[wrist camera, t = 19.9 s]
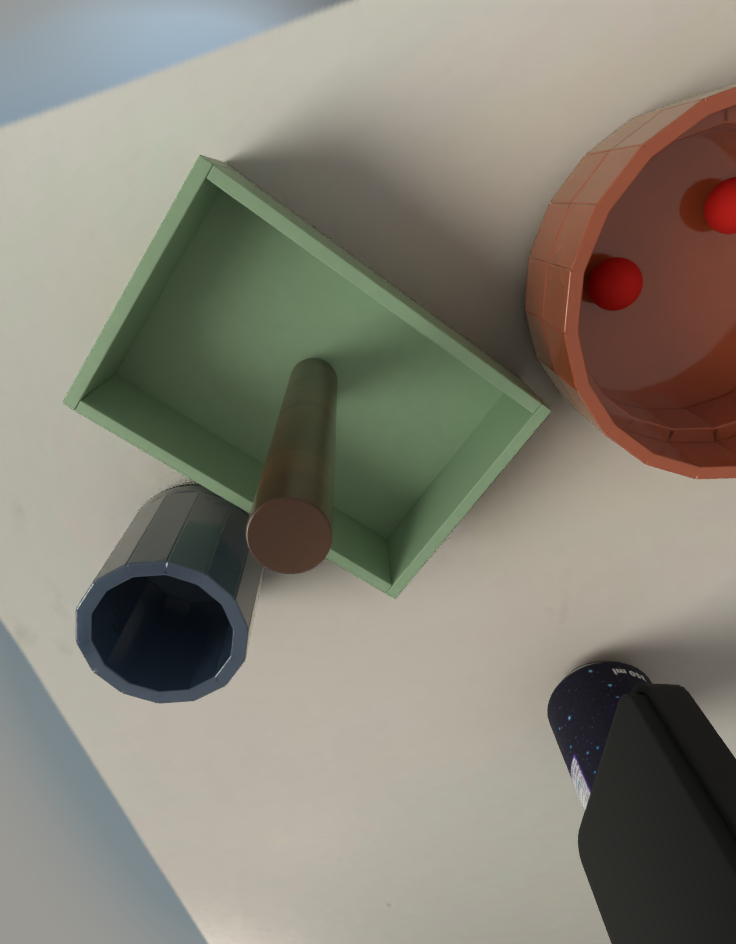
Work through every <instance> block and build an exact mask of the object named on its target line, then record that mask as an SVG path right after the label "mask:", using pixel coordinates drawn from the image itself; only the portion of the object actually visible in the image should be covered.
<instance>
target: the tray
mask: <svg viewBox="0 0 736 944" xmlns="http://www.w3.org/2000/svg"><path fill="white" fill-rule="evenodd" d="M308 358H318V359H322V360H324V361H326V362H327V363H329V364H330V365H331V366H332V368H333V369H334V371H335V373H336V376H337V410H336V444H335V478H334V513H333V540H332V545H331V549H330V551H329V553H328V554H327V556H326V557H325V558H326V559H328V560H330V561H331V562H333V563H335V564H336V565H338V566H340V567H342V568H343V569H345V570H347V571H348V572H350V573H352V574H353V575H355V576H357V577H359V578H360V579H362V580H364V581H365V582H367V583H369V584H370V585H372V586H374V587H376V588H377V589H379V590H381V591H382V592H384V593H386V594H387V595H389V596H391V597H393V598H394V599H395V598H396V597H397V596H398V595H399V594H400V593H401V591H402V590H403V589H404V588H405V587H406V585H407V584H408V583H409V582H410V581H411V579H412V578H413V577H414V576H415V575H416V573H417V572H418V571H419V570H420V569H421V567H422V566H423V565H424V564H425V563H426V561H427V560H428V559H429V558H430V557H431V555H432V554H433V553H434V552H435V551H436V549H437V548H438V547H439V546H440V545H441V543H442V542H443V541H444V540H445V539H446V537H447V536H448V535H449V534H450V533H451V531H452V530H453V529H454V528H455V527H456V525H457V524H458V523H459V522H460V521H461V519H462V518H463V517H464V516H465V515H466V513H467V512H468V511H469V510H470V509H471V507H472V506H473V505H474V504H475V503H476V501H477V500H478V499H479V498H480V497H481V495H482V494H483V493H484V492H485V491H486V489H487V488H488V487H489V486H490V485H491V483H492V482H493V481H494V480H495V479H496V477H497V476H498V475H499V474H500V473H501V471H502V470H503V469H504V468H505V467H506V465H507V464H508V463H509V462H510V461H511V459H512V458H513V457H514V456H515V455H516V453H517V452H518V451H519V450H520V449H521V447H522V446H523V445H524V444H525V443H526V441H527V440H528V439H529V438H530V437H531V435H532V434H533V433H534V432H535V430H536V429H537V428H538V427H539V426H540V424H541V423H542V422H543V421H544V420H545V418H546V417H547V416H548V415H549V414H550V412H551V409H550V408H549V407H548V406H547V405H546V404H545V403H544V402H543V401H542V400H541V399H540V398H539V397H538V396H537V395H536V394H535V393H534V392H533V391H532V390H531V389H530V388H529V387H528V386H527V385H526V384H525V383H524V382H523V381H522V380H521V379H520V378H518V377H517V376H516V375H514V374H513V373H512V372H510V371H509V370H508V369H506V368H505V367H503V366H502V365H501V364H499V363H498V362H497V361H495V360H494V359H492V358H491V357H490V356H488V355H487V354H486V353H484V352H483V351H482V350H480V349H479V348H477V347H476V346H475V345H473V344H472V343H471V342H469V341H468V340H467V339H465V338H464V337H462V336H461V335H460V334H458V333H457V332H456V331H454V330H453V329H452V328H450V327H449V326H447V325H446V324H445V323H443V322H442V321H441V320H439V319H438V318H437V317H435V316H434V315H432V314H431V313H430V312H428V311H427V310H426V309H424V308H423V307H421V306H420V305H419V304H417V303H416V302H415V301H413V300H412V299H411V298H409V297H408V296H406V295H405V294H404V293H402V292H401V291H400V290H398V289H397V288H396V287H394V286H393V285H391V284H390V283H389V282H387V281H386V280H385V279H383V278H382V277H381V276H379V275H378V274H376V273H375V272H374V271H372V270H371V269H370V268H368V267H367V266H365V265H364V264H363V263H361V262H360V261H359V260H357V259H356V258H355V257H353V256H352V255H350V254H349V253H348V252H346V251H345V250H344V249H342V248H341V247H340V246H338V245H337V244H335V243H334V242H333V241H331V240H330V239H329V238H327V237H326V236H325V235H323V234H322V233H320V232H319V231H318V230H316V229H315V228H314V227H312V226H311V225H310V224H308V223H307V222H305V221H304V220H303V219H301V218H300V217H299V216H297V215H296V214H294V213H293V212H292V211H290V210H289V209H288V208H286V207H285V206H284V205H282V204H281V203H279V202H278V201H277V200H275V199H274V198H273V197H271V196H270V195H269V194H267V193H266V192H264V191H263V190H262V189H260V188H259V187H258V186H256V185H255V184H254V183H252V182H251V181H249V180H248V179H247V178H245V177H244V176H243V175H241V174H240V173H239V172H237V171H236V170H234V169H233V168H232V167H230V166H229V165H228V164H226V163H225V162H222V161H219V160H215V159H212V158H209V157H205V156H202V155H200V156H199V157H198V159H197V161H196V163H195V164H194V166H193V168H192V170H191V172H190V173H189V175H188V177H187V179H186V181H185V182H184V184H183V186H182V188H181V190H180V191H179V193H178V195H177V197H176V199H175V200H174V202H173V204H172V206H171V208H170V209H169V211H168V213H167V215H166V217H165V219H164V220H163V222H162V224H161V226H160V228H159V229H158V231H157V233H156V235H155V237H154V238H153V240H152V242H151V244H150V246H149V247H148V249H147V251H146V253H145V255H144V256H143V258H142V260H141V262H140V264H139V265H138V267H137V269H136V271H135V273H134V274H133V276H132V278H131V280H130V282H129V283H128V285H127V287H126V289H125V291H124V292H123V294H122V296H121V298H120V300H119V301H118V303H117V305H116V307H115V309H114V310H113V312H112V314H111V316H110V318H109V319H108V321H107V323H106V325H105V327H104V328H103V330H102V332H101V334H100V336H99V337H98V339H97V341H96V343H95V345H94V346H93V348H92V350H91V352H90V354H89V355H88V357H87V359H86V361H85V363H84V364H83V366H82V368H81V370H80V372H79V373H78V375H77V377H76V379H75V381H74V382H73V384H72V386H71V388H70V390H69V392H68V393H67V395H66V397H65V399H64V401H63V404H64V405H66V406H68V407H69V408H71V409H73V410H75V411H76V412H78V413H79V414H81V415H83V416H85V417H86V418H88V419H90V420H91V421H93V422H95V423H96V424H98V425H100V426H102V427H103V428H105V429H107V430H108V431H110V432H112V433H114V434H115V435H117V436H119V437H120V438H122V439H124V440H125V441H127V442H129V443H131V444H132V445H134V446H136V447H137V448H139V449H141V450H142V451H144V452H146V453H148V454H149V455H151V456H153V457H154V458H156V459H158V460H159V461H161V462H163V463H165V464H166V465H168V466H170V467H171V468H173V469H175V470H176V471H178V472H180V473H182V474H183V475H185V476H187V477H188V478H190V479H192V480H193V481H195V482H197V483H199V484H200V485H202V486H204V487H205V488H207V489H209V490H210V491H212V492H214V493H216V494H217V495H219V496H221V497H222V498H224V499H226V500H228V501H229V502H231V503H233V504H234V505H236V506H238V507H239V508H241V509H243V510H245V511H246V512H248V513H250V512H251V509H252V505H253V502H254V498H255V495H256V492H257V488H258V485H259V481H260V478H261V474H262V471H263V468H264V464H265V461H266V457H267V454H268V451H269V447H270V444H271V440H272V437H273V434H274V430H275V427H276V423H277V420H278V416H279V413H280V410H281V406H282V403H283V399H284V396H285V393H286V389H287V386H288V382H289V379H290V376H291V372H292V370H293V368H294V367H295V366H296V365H297V364H298V363H299V362H301V361H302V360H305V359H308Z"/></svg>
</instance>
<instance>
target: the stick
mask: <svg viewBox="0 0 736 944" xmlns="http://www.w3.org/2000/svg"><path fill="white" fill-rule="evenodd" d="M336 410H337V376H336V373H335V371H334V369H333V368H332V366H331V365H330V364H329V363H327V362H326V361H324V360H322V359H318V358H308V359H305V360H302V361H301V362H299V363H298V364H297V365H296V366H295V367H294V368H293V370H292V372H291V376H290V379H289V382H288V386H287V389H286V393H285V396H284V399H283V403H282V406H281V410H280V413H279V416H278V420H277V423H276V427H275V430H274V434H273V437H272V440H271V444H270V447H269V451H268V454H267V457H266V461H265V464H264V468H263V471H262V474H261V478H260V481H259V485H258V488H257V492H256V495H255V498H254V502H253V505H252V509H251V512H250V515H249V519H248V522H247V526H246V533H245V534H246V542H247V546H248V548H249V550H250V552H251V554H252V555H253V557H254V558H255V559H256V560H257V561H258V562H259V563H260V564H261V565H263V566H264V567H266V568H268V569H270V570H272V571H275V572H278V573H284V574H297V573H302V572H305V571H308V570H310V569H312V568H314V567H315V566H317V565H318V564H319V563H321V562H322V561H323V560H324V559H325V557H326V556H327V554H328V553H329V551H330V549H331V545H332V540H333V513H334V478H335V444H336Z"/></svg>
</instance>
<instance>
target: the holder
mask: <svg viewBox="0 0 736 944" xmlns="http://www.w3.org/2000/svg"><path fill="white" fill-rule="evenodd" d="M249 515H250V513H248V512H246V511H245V510H243V509H241V508H239V507H238V506H236V505H234V504H233V503H231V502H229V501H228V500H226V499H224V498H222V497H221V496H219V495H217V494H216V493H214V492H212V491H210V490H209V489H207V488H205V487H204V486H200V485H188V486H179V487H175V488H171V489H168V490H166V491H163V492H161V493H159V494H158V495H156V496H154V497H153V498H152V499H150V500H149V501H148V502H147V503H146V504H145V505H144V506H143V507H142V508H141V509H140V510H139V512H138V513H137V515H136V516H135V518H134V519H133V521H132V522H131V524H130V526H129V527H128V529H127V530H126V532H125V533H124V535H123V536H122V538H121V539H120V541H119V542H118V544H117V546H116V547H115V549H114V550H113V552H112V553H111V555H110V556H109V558H108V559H107V561H106V562H105V564H104V566H103V567H102V569H101V570H100V572H99V573H98V575H97V576H96V578H95V579H94V581H93V583H92V584H91V586H90V587H89V589H88V590H87V592H86V594H85V595H84V597H83V598H82V600H81V601H80V603H79V605H78V606H77V609H76V641H77V645H78V647H79V648H80V650H81V652H82V654H83V655H84V657H85V659H86V661H87V662H88V664H89V666H90V668H91V670H92V671H93V672H94V673H95V674H97V675H98V676H99V677H101V678H102V679H104V680H105V681H106V682H108V683H109V684H110V685H112V686H113V687H114V688H116V689H117V690H118V691H120V692H123V694H127V695H130V696H134V697H137V698H141V699H144V700H148V701H151V702H155V703H173V702H187V701H195V700H197V699H199V698H201V697H203V696H206V695H208V694H210V693H212V692H214V691H216V690H218V689H220V688H222V687H224V686H225V685H227V684H228V682H229V681H230V680H231V678H232V677H233V676H234V675H235V673H236V672H237V671H238V669H239V668H240V667H241V665H242V664H243V663H244V661H245V659H246V655H247V650H248V645H249V640H250V636H251V631H252V626H253V621H254V617H255V612H256V607H257V602H258V598H259V593H260V588H261V583H262V579H263V572H264V566H263V565H261V564H260V563H259V562H258V561H257V560H256V559H255V558H254V557H253V555H252V554H251V552H250V550H249V548H248V546H247V542H246V534H245V533H246V526H247V522H248V519H249Z"/></svg>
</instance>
